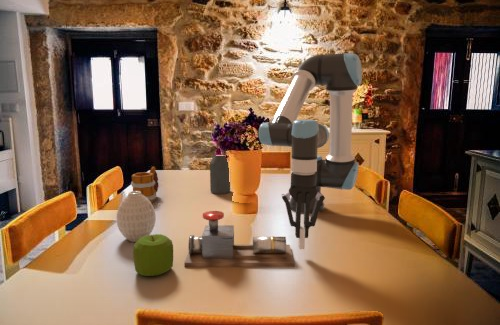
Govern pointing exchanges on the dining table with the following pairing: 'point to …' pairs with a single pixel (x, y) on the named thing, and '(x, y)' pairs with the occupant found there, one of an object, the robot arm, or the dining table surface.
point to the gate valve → (214, 239)
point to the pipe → (269, 245)
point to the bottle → (219, 175)
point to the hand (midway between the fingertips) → (301, 247)
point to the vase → (135, 216)
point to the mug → (146, 183)
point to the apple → (153, 255)
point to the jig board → (244, 259)
